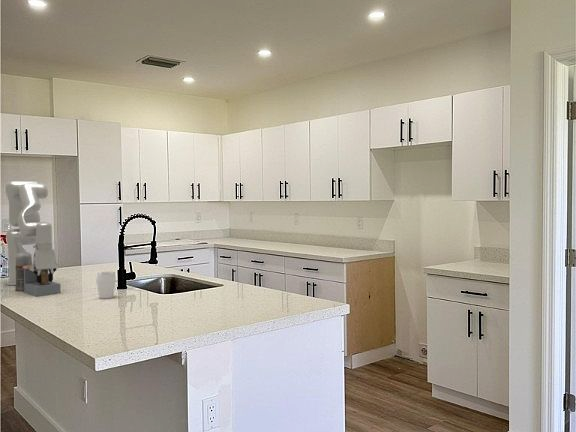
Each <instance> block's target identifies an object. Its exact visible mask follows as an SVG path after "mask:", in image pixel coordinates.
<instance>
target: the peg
mask: <svg viewBox="0 0 576 432" xmlns="http://www.w3.org/2000/svg"><path fill="white" fill-rule="evenodd" d="M40 275H41V283H40V285H48V277H47V270H41V272H40Z"/></svg>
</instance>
